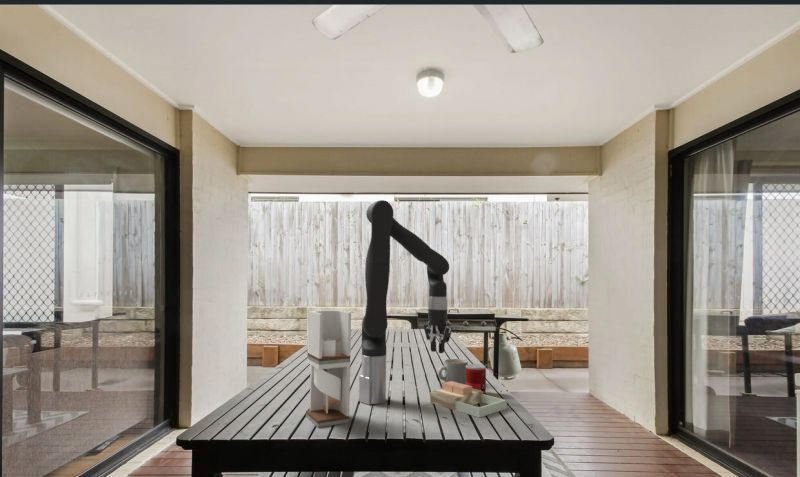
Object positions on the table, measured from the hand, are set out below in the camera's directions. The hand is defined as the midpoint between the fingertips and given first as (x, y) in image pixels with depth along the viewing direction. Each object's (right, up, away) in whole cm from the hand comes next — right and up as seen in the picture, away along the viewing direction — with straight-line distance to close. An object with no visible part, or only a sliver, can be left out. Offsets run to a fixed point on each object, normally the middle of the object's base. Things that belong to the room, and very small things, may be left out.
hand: (437, 351), depth 182 cm
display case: (-39, -15, -30) cm, 51 cm away
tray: (+14, -16, -17) cm, 27 cm away
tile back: (+5, -13, -6) cm, 15 cm away
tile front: (+8, -13, -10) cm, 18 cm away
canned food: (+16, -18, +4) cm, 24 cm away
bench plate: (+7, -17, -9) cm, 20 cm away
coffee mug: (+8, -19, +18) cm, 27 cm away
